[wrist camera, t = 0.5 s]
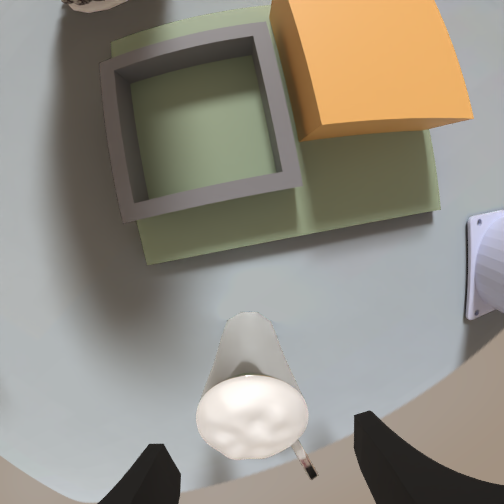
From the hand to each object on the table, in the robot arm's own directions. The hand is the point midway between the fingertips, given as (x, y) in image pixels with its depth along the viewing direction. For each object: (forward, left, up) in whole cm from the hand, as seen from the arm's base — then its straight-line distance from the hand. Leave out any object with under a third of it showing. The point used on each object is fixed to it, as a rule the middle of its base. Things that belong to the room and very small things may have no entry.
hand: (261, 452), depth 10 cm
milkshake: (0, 0, -10) cm, 10 cm away
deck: (-4, -13, -10) cm, 17 cm away
